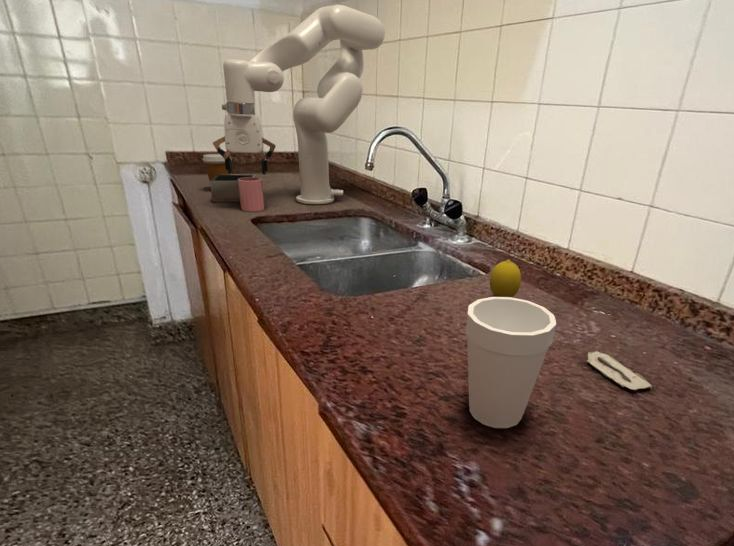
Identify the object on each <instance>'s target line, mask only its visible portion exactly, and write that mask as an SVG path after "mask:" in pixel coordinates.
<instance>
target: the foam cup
mask: <svg viewBox="0 0 734 546" xmlns="http://www.w3.org/2000/svg"><path fill="white" fill-rule="evenodd" d="M465 323H466V324H465V334H466V341H467V347H466V348H467V379H468V380H467V381H468V407H469V413H470V414H471V416H472V417H473V419H475V420H476V421H477V422H479V423H480V424H481V425H484V426H487V427H491V428H493V429H509V428H512V427H515V426H517V425H518V424H519V423H520V421H521V420H522V419H523V416H524V415H525V411H526V409H527V406H528V404H529V401H530V398H531V396H532V393H533V390H534V387H535V386H536V382H537V380H538V377H539V374H540V371H541V369H542V367H543V364H544V361H545V358H546V356H547V353H548V350H549V348H550V347H551V346H552V344H553V342H554V337H555V332H556V328H557V320H556V317H555V314H554V313H552V312H551V311H550V310H548V309H547V308H546V307H544V306H542V305H540V304H537V303H536V302H533V301H530V300H526V299H521V298H516V297H496V296H490V297H489V296H488V297H485V298H480V299H476V300H474V301H473V302H472V303H470V304H468V307H467V315H466V322H465Z"/></svg>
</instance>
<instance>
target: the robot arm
mask: <svg viewBox="0 0 734 546" xmlns="http://www.w3.org/2000/svg"><path fill="white" fill-rule="evenodd" d="M385 36H386V35H385V29H384V25H383V23H382V21H381V20H380V19H379V18H377V17H376V16H375V15H372V14H369V13H366V12H363V11H360V10H358V9H356V8H352V7H350V6H347V5H344V4H333V5H327V6H322V7H320V8H317V9H316V10H315V11H313V13H311V14H309V16H307V17H306V18H305V19H304V20H303V21H301V22H300V23H299V24H298V25H297V26H296V27H294V28H293V29H292V30H291V31H290V32H288V33H287V34H285V35H283V36H282V37H281V38H278V39H277V40H276V41H274V42H273V43H271V44H270V45H267V47H265V48H263V49H262V50H261V51H259V52H258V53H257V54H255V56H253V57H252V58H251V59H250V60H249V61H247V60H243V59H232V58H231V59H230V58H229V59H225V60H224V62H223V64H222V65H223V68H222V69H223V78H224V86H225V87H224V88H225V89H224V90H225V98H226V103H225V104H221V110H222V111H226V112H227V114H225V115H224V128H223V129H224V136H222V137H220V138H218V139H216V140H214V141H212V145H213V147H214V148H215V150H216V152H217V154H220V155H221V156H222V157H223V158H224V159H225V167H226V170H228V173H231V174H232V173H233V164H232V160H231V159H232V158H231V159H230V157H231V155H232V154H251V155H254V154H255V155H256V154H258V156H260V157H261V173H262V175H267V174H266V173H267V172H268V171H269V168H268V159H269V158H271V156H272V155H273V154H274V152H275V149H276V148H277V145H276V143H273V142H271V140H268V139H266V138H264V136H263V131H262V125H261V121H260V117H259V116H258V115H257V111H256V110H257V107H256V95H255V92H263V93H274V92H277V91H279V90H280V89H281V88H282V87H283V85H284V83H285V75H284V73H283V72H285V71H286V70H289V69H292V68H295V67H298V66H301V65H304V64H306V63H307V62H309V61H310V60H312V59H313V58H314V57H315V56H317V54H319V52H321V51H322V50H323V49H324V48H325V47H327V46H328V45H329V44H330V43H331V42H333V41H339V44H340V45H339V46H340V55H339V57H338V59H337V60H336V61H335V63H334V64H333V65H332V66H331V67H330V68H329V70H327V72H326V73H325V74H324V75H323V76H322V78H321V79H320V80H319V82H318V84H317V87H316V94H317V96H318V97H314V96H306V97H303V98H300V99H298V101H297V102H296V103H295V104H294V106H293V112H292V116H293V122H294V128H295V132H296V139H297V150H298V151H297V152H298V153H297V154H298V169H299V171H298V172H299V185H300V186H299V188H300V194H298V195H297V196H296V199H295V200H296V202H298V203H301V204H305V205H325V204H330V203H333V202H335V196H336V197H337V196H338V197H343V196H344V189H338V188H337V189H334V188H331V185H330V169H329V168H330V167H329V165H330V164H329V146H328V145H329V144H328V139H327V135H326V134H329V133H334V132H335V131H337V130H338V129H340V128H341V126H343V124H344V123H345V122H346V121H347V119H348V118H349V117H350V116H351V115H352V114H353V112H354V111H355V109H357V107H358V106H359V105H360V102H361V100H362V97H363V91H364V90H363V84H362V81H361V80H360V79H361V77H362V76H363V73H364V68H365V65H364V64H365V62H364V53H363V51H369V50H370V51H371V50H375V49H378V48H380V46H382V44H383V42H384V40H385ZM223 143H224V146H225V150H226V151H225V150H224V149H223V148H222V147H221V144H223ZM264 145H266V146H267V147H269V150H268V151H267V152H265V151H264Z"/></svg>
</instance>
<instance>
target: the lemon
mask: <svg viewBox="0 0 734 546" xmlns="http://www.w3.org/2000/svg"><path fill="white" fill-rule="evenodd" d="M521 273H522V272H521V270H520V268H519V266H518V265H517V264H516V263H514V262H512V261H511V260H510V259H506V260H505V261H500V262H499V263H497V264H496V265H495V266H494V267H493V269H492V271H491V274H490V278H489V288H490V291H491V293H492V294H493V296H494V297H512V298H514V297H515V295H517V293H518V292H519V290H520V286H521V283H522V275H521Z"/></svg>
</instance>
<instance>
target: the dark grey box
mask: <svg viewBox="0 0 734 546" xmlns="http://www.w3.org/2000/svg"><path fill="white" fill-rule="evenodd" d="M243 177H257V174H236V173H235V174H232V173H231V174H217V175H216V176H215V177H214V178H213V179H212V180H210V181H209V184H210V190H211V191H210V192H211V197H212V203H213V204H214V203H215V204H217V203H219V204H223V203H224V204H225V203H227V204H229V203H230V204H231V203H232V204H235V203H237V204H240V195H239V187H238V179H239V178H243Z"/></svg>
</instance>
